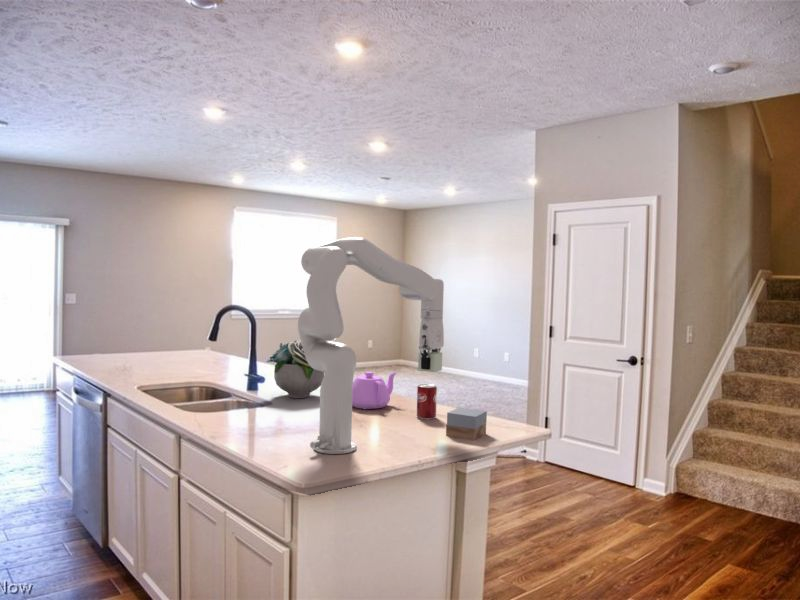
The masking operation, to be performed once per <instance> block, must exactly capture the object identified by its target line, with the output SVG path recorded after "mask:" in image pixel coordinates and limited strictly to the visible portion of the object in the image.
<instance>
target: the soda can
mask: <svg viewBox="0 0 800 600" xmlns="http://www.w3.org/2000/svg"><path fill="white" fill-rule="evenodd" d="M416 388H417V389H416V390H417V391H416V417H417V418H418V419H419V418H420V419H419V420H425V419H430V420H434V419H435V418H437V397H438V396H437V394H438V387H437V386H436V384H431V383H429V384H428V383H424V384H423V383H422V384H418V385H417V387H416Z"/></svg>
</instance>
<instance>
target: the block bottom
mask: <svg viewBox="0 0 800 600" xmlns="http://www.w3.org/2000/svg"><path fill="white" fill-rule="evenodd" d="M445 425H446V426H445V436H447V437H453V438H458V439H464V440H470V441H475V440H477V439H479V438H482V436H485V435H486V433H487V422H486V423H485V424H484V425H482V426H480V427H478V428H477V429H471V428H465V427H458V426H452V425H447V424H445Z"/></svg>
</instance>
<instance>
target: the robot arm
mask: <svg viewBox="0 0 800 600" xmlns="http://www.w3.org/2000/svg"><path fill="white" fill-rule="evenodd" d="M300 263H301V267H302V269H303V271H305V273H307V274H308V275H310V276H309V278H308V281H307V284H306V299H307V304H308V307H307V308H304V309H303V310H302V311H301V312H300V314H299V316H298V320H297V329H298V334H299V339H300V340H301V343H302V347H303V350H304V354H305V357H306V360H307V362H308V364H309V365H310V366H311V367H312V368H313V369H315V370H318V371H321V372H324V378H323V380H322V383H321V386H320V390H319V391H320V393H319V398H320V399H319V430H318V435H317V439H316V440H314V441H311V442H310V444H309V446H310V449H313V450H315V451H316V452H318V453H321V454H328V455H341V454H342V455H344V454H348V453H352V452H353V451H356V449H357V443H355V442H354V441H352V430H353V429H352V428H353V427H352V426H353V425H352V423H353V422H352V421H353V419H352V417H353V406H352V388H353V382H354V376H355V371H356V367H357V355H356V353H355V350H354V349H353V348H352V347H351V346H349V345H348V344H346V343H343V342H338V341H335V340H337V339H339V338H341V336H342V335H343V333H344V320H343V319H344V318H343V317H342V312H341V308H340V304H339V299H338V295H337V285H338V281H339V279H340V277H341V275H342V274H343V272H344V271H345V270H346V267H347V266H355V267H357V268H359V269H360V270H362V271H363V272H365V273H367V274H369V275H370V276H371V277H373V278H374V279H376V280H377V281H379V282H382V283H386V284H391V285H395V286H398V292H399V295H400V296H401V297H402V298H403V299H405V300H409V301H420V327H419V342H418V344H419V345H418V350H419V353H421V369H427V370H429V369H430V359H431V358H429V356H430V352H441V350H442V348H443V347H444V345H445V344H444V342H445V341H444V339H445V338H444V333H445V332H444V322H443V321H444V320H443V318H444V292H445V291H444V288H445V287H444V286H445V285H444V284H445V283H444V281H443V279H441V278H433V277H432V276H431V275H430V274H428V273H427V272H425V271H424V270H423V269H420V268H418V267H417V266H414V265H411V264H409V263H407V262H404V261H402V260H400V259H397V258H395V257H393V256H392V255H390V254H389V253H387V252H385V251H384V250H383V249H381V248H380V247H378V246H377V245H376V244H374V243H372V242H371V241H370V240H368V239H366V238H364V237H360V236H359V237H357V236H354V237H345V238H340V239H336V240H333V241H330V242H327V243H323V244H319V245H316V246H312V247H310V248H308V249H307V250H305V251H304V252H303V254H302V256H301V261H300ZM426 351H427V352H426Z"/></svg>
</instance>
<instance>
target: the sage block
mask: <svg viewBox="0 0 800 600" xmlns="http://www.w3.org/2000/svg"><path fill="white" fill-rule="evenodd" d="M427 351H428V350H426V352H427ZM429 358H431V359H430V369H429V370H427V369H421V353H420V352H418V361H417V370H418V371H420V372H428V373H429V372H430V373H436V372H440V371H442V370H443V352H441V351H440V352H431V351H430V356H429Z"/></svg>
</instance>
